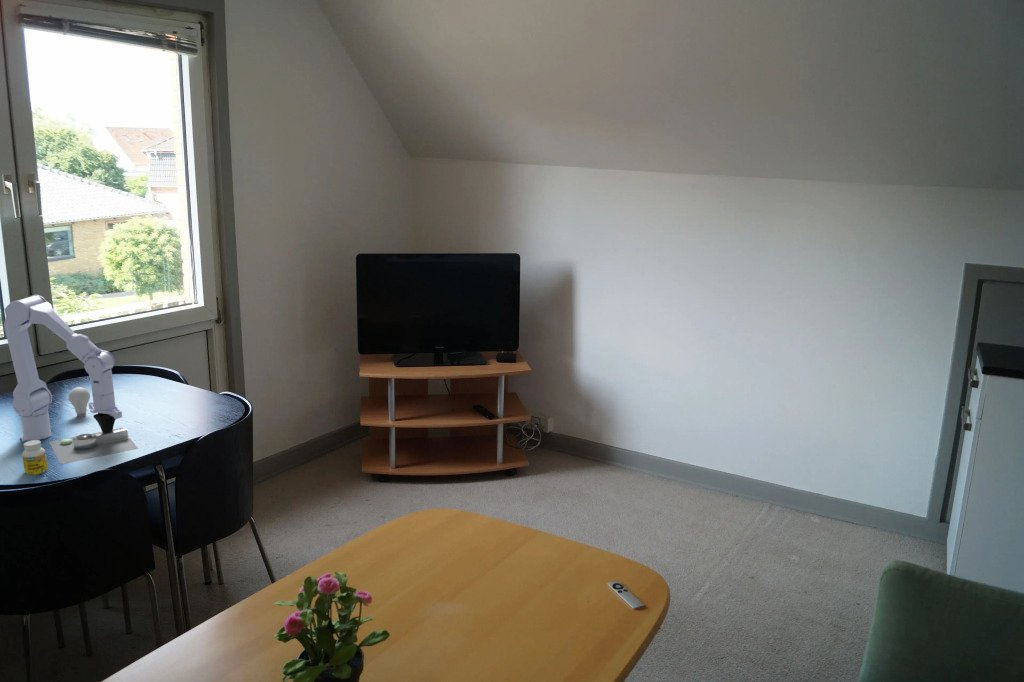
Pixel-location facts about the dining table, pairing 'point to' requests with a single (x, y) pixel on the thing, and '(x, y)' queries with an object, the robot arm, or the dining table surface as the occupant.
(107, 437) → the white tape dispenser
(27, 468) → the supplement bottle
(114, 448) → the plate
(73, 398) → the lightbulb
